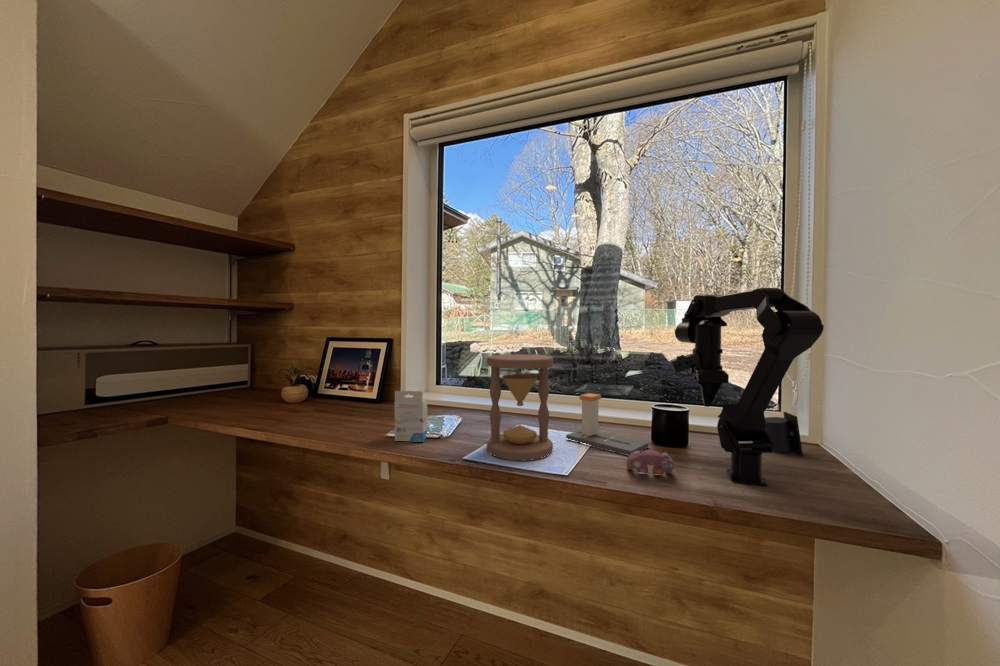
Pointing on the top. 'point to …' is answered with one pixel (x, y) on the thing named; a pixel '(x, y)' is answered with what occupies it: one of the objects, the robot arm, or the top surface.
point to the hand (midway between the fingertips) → (707, 406)
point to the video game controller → (650, 462)
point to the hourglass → (519, 439)
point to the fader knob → (590, 413)
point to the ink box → (410, 416)
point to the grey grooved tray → (609, 442)
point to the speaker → (784, 433)
